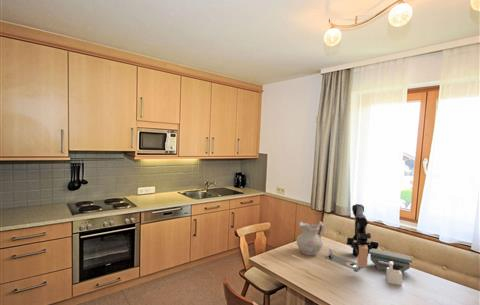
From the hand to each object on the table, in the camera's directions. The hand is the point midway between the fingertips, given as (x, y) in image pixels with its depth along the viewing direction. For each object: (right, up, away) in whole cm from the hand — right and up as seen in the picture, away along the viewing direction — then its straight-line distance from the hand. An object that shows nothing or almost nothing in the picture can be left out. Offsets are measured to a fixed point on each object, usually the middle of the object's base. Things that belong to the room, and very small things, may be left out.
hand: (362, 255), depth 159 cm
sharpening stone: (+23, -14, +11) cm, 29 cm away
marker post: (0, -7, +1) cm, 7 cm away
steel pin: (-12, -11, +24) cm, 30 cm away
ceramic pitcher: (-25, -11, +32) cm, 42 cm away
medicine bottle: (+17, -14, -6) cm, 22 cm away
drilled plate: (-5, -12, +17) cm, 22 cm away
